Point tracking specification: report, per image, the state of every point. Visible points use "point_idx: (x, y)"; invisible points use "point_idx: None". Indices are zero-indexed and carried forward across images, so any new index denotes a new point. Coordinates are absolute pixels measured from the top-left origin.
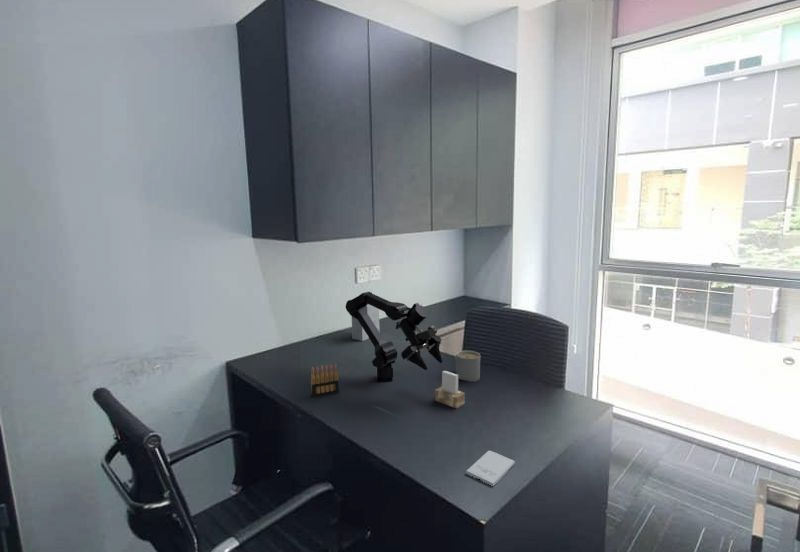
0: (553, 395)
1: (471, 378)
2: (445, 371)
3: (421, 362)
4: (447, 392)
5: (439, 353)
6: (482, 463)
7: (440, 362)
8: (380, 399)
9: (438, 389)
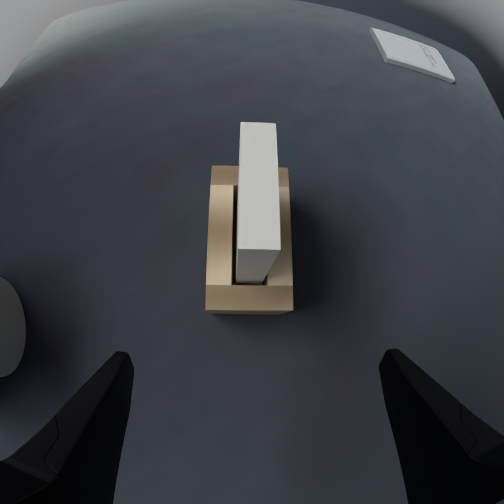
0: (32, 73)
1: (6, 288)
2: (251, 230)
3: (450, 404)
4: None
5: (67, 418)
6: (423, 61)
7: (131, 370)
8: None
9: (272, 298)
